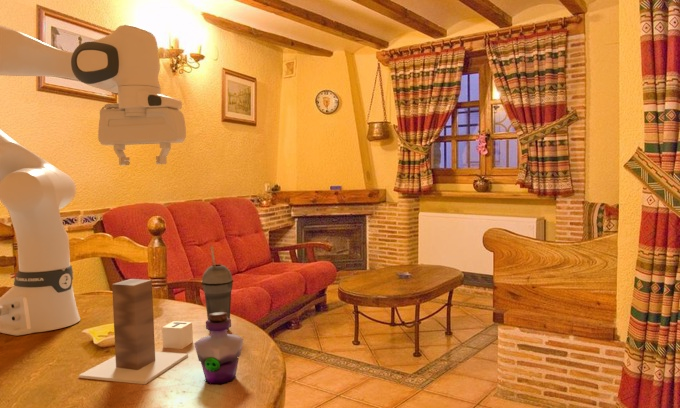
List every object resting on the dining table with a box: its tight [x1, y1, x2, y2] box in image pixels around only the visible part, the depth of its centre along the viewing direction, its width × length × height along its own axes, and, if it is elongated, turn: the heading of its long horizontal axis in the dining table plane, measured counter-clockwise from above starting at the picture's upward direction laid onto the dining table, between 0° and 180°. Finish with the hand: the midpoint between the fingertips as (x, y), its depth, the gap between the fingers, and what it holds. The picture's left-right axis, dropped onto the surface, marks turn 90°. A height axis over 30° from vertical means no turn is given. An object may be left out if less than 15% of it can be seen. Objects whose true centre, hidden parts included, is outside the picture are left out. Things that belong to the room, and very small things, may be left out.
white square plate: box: [78, 350, 189, 385], centre depth 99 cm, size 14×14×1 cm
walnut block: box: [111, 278, 156, 370], centre depth 98 cm, size 5×5×16 cm
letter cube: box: [161, 320, 194, 350], centre depth 111 cm, size 4×4×5 cm
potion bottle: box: [193, 312, 244, 386], centre depth 92 cm, size 9×9×12 cm
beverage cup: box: [201, 245, 234, 331], centre depth 120 cm, size 7×7×20 cm
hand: (142, 164), depth 114 cm, fingers open, 8 cm apart
